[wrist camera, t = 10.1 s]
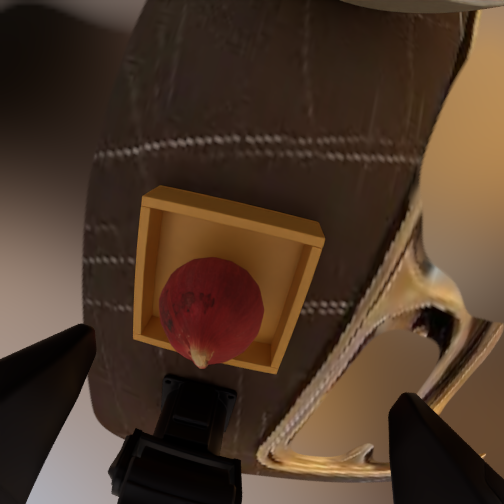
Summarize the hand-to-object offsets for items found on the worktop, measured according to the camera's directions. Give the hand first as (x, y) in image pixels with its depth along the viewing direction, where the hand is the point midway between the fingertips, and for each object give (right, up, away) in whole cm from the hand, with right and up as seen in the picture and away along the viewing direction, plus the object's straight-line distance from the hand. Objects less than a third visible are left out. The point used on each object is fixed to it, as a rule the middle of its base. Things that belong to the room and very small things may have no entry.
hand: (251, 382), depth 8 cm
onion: (-2, +2, +13) cm, 13 cm away
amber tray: (-2, +2, +13) cm, 14 cm away
